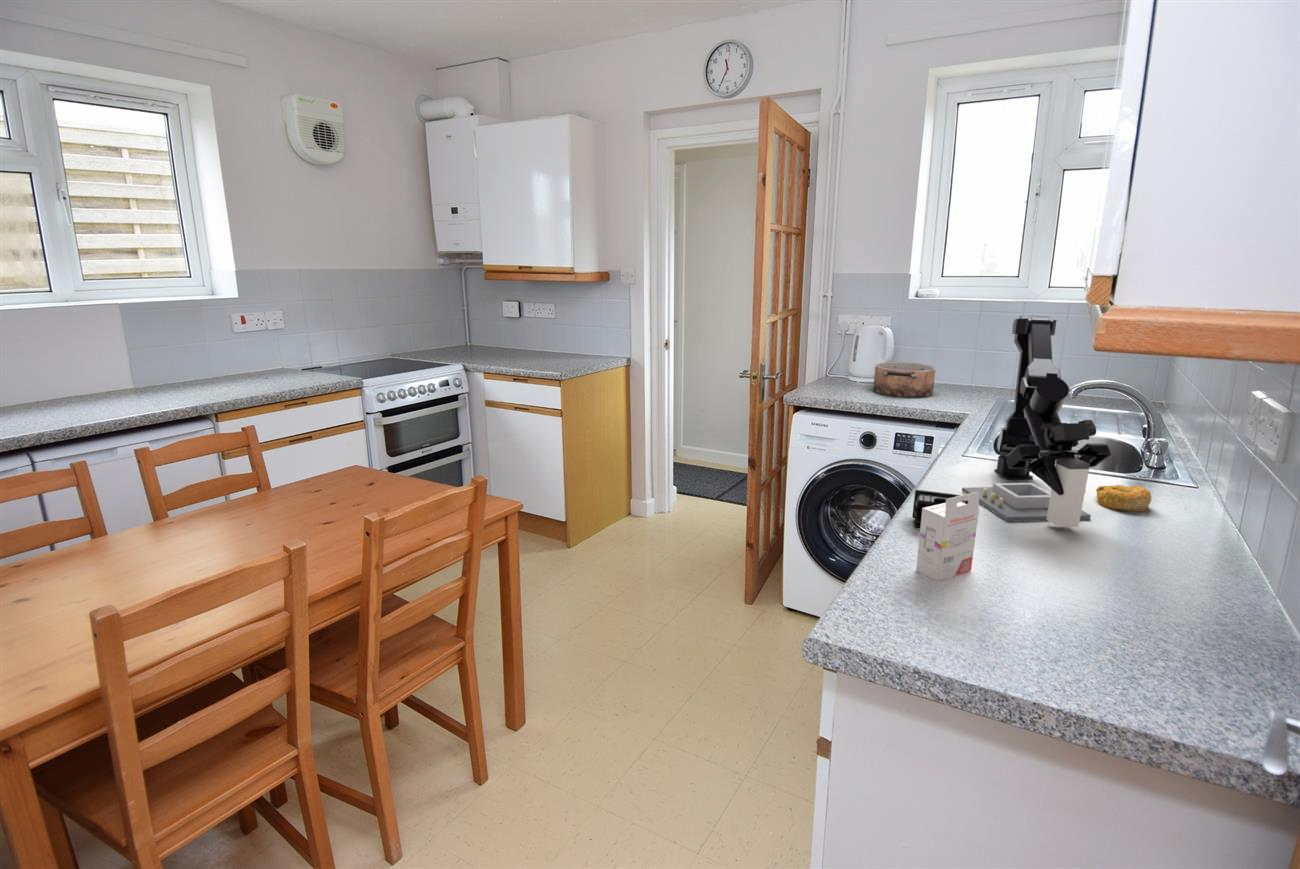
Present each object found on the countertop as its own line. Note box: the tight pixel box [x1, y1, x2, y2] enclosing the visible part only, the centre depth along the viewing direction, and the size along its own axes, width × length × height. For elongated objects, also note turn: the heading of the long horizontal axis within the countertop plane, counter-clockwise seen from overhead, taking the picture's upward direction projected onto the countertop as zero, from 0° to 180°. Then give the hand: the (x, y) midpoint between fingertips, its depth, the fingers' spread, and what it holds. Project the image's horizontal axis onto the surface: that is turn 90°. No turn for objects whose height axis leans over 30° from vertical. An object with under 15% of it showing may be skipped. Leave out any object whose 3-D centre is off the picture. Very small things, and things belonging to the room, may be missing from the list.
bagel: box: [1095, 484, 1152, 513], centre depth 147 cm, size 10×11×5 cm
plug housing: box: [1046, 458, 1091, 528], centre depth 133 cm, size 4×4×13 cm
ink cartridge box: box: [915, 492, 980, 582], centre depth 114 cm, size 9×5×15 cm, turn 117°
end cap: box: [912, 489, 968, 529], centre depth 135 cm, size 10×7×7 cm
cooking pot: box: [873, 361, 937, 399], centre depth 266 cm, size 30×22×11 cm
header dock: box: [961, 482, 1092, 522], centre depth 147 cm, size 18×18×4 cm
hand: (1072, 494), depth 131 cm, fingers closed on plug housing, 4 cm apart
